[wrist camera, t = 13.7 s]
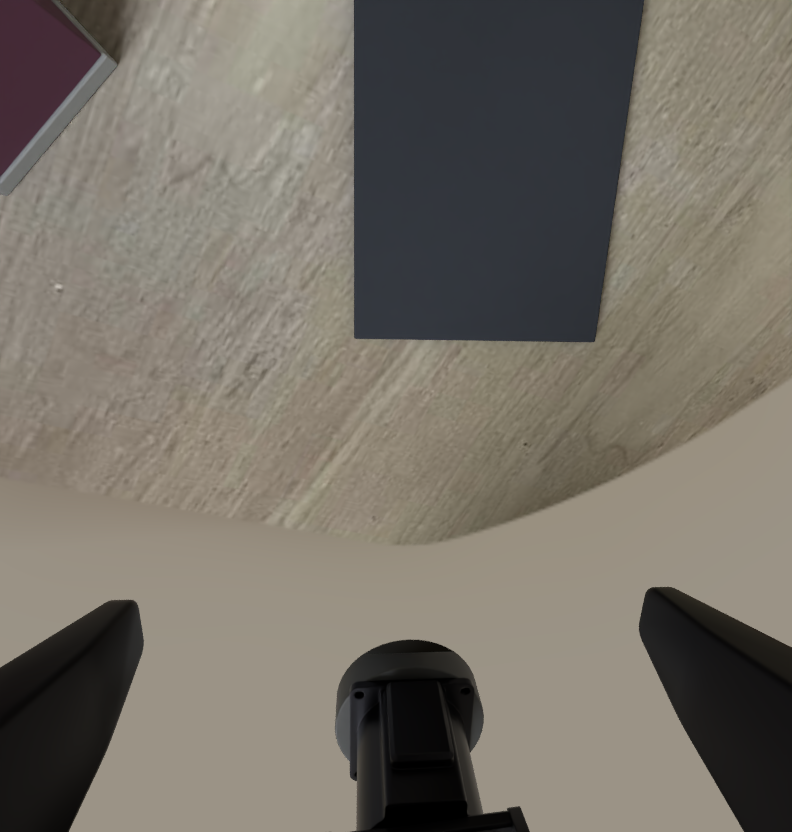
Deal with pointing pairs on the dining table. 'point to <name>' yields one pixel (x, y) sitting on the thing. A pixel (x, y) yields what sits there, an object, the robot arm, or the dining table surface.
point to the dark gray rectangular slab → (487, 164)
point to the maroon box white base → (42, 80)
